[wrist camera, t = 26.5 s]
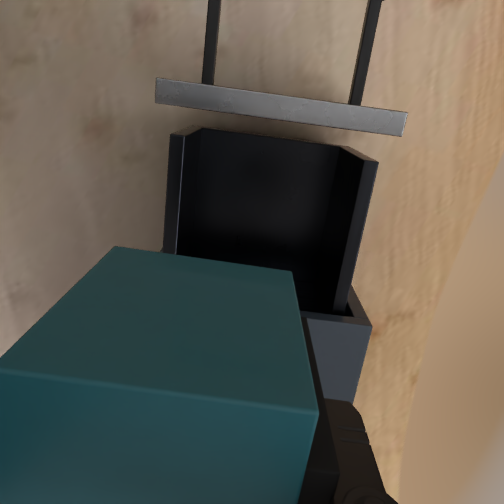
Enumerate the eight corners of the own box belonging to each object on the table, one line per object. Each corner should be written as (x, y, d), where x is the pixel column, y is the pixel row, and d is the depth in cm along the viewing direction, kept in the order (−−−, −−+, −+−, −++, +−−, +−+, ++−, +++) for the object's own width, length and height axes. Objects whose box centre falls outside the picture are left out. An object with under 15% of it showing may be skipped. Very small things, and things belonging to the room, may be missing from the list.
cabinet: (167, 239, 34) (130, 296, 24) (340, 261, 34) (373, 326, 24) (156, 394, 38) (122, 493, 29) (308, 411, 39) (324, 515, 29)
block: (107, 394, 16) (1, 596, 9) (114, 244, 14) (-14, 368, 8) (264, 415, 16) (268, 627, 10) (292, 270, 14) (321, 412, 8)
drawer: (191, -28, 27) (163, -82, 19) (390, 1, 27) (445, -40, 19) (170, 269, 33) (143, 321, 25) (329, 288, 34) (351, 346, 26)
